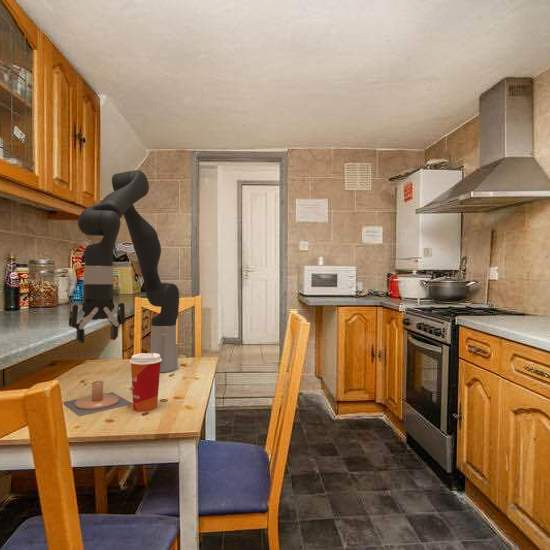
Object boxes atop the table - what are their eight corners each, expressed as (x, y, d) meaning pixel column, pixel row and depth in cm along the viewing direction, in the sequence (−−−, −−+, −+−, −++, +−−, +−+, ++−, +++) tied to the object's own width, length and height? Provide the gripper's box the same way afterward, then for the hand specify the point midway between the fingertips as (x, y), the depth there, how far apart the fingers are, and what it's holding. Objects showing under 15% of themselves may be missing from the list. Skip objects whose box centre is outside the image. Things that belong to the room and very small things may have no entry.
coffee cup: (133, 406, 109) (134, 352, 109) (163, 405, 110) (164, 352, 110) (124, 417, 101) (125, 358, 101) (157, 416, 101) (158, 358, 101)
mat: (112, 395, 118) (112, 392, 118) (133, 407, 108) (133, 403, 108) (61, 406, 108) (61, 402, 108) (79, 420, 98) (79, 416, 98)
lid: (109, 394, 116) (109, 374, 116) (125, 403, 108) (125, 382, 108) (69, 402, 108) (69, 381, 108) (83, 413, 100) (84, 390, 100)
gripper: (118, 282, 115) (117, 336, 116) (66, 282, 105) (65, 342, 105) (129, 282, 110) (128, 340, 110) (75, 283, 100) (74, 346, 100)
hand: (97, 341), depth 108 cm, fingers open, 8 cm apart
